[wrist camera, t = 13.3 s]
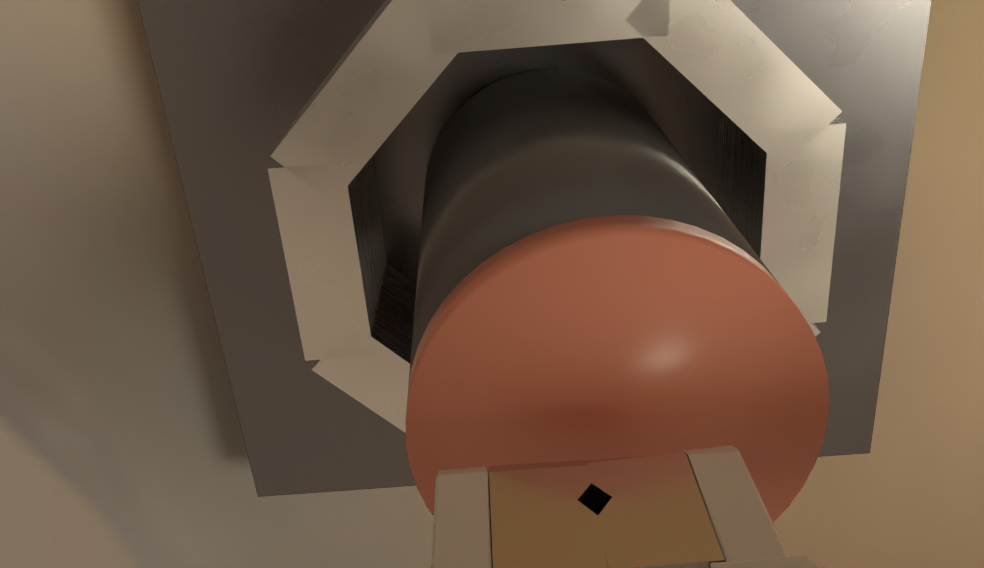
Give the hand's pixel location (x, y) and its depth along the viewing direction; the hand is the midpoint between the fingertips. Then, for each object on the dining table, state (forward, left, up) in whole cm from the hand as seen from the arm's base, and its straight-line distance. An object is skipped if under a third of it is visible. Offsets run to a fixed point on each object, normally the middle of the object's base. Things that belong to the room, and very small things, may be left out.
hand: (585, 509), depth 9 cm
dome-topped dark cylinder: (0, 0, -9) cm, 9 cm away
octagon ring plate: (0, 0, -11) cm, 11 cm away
